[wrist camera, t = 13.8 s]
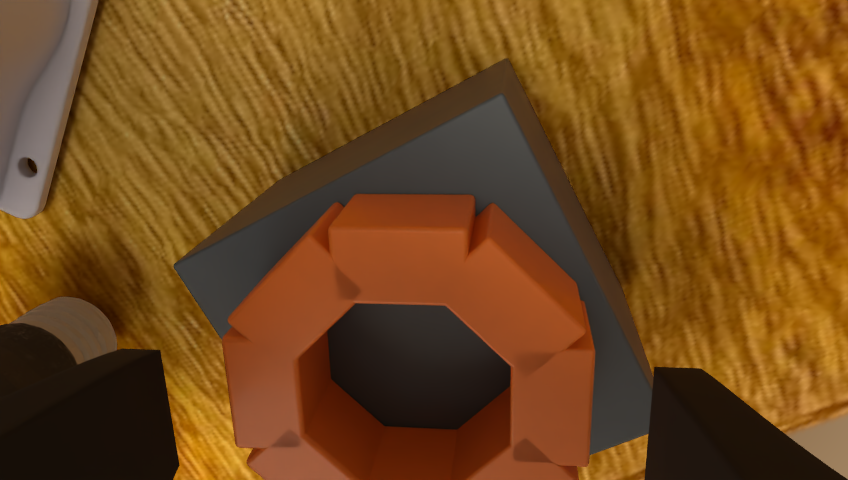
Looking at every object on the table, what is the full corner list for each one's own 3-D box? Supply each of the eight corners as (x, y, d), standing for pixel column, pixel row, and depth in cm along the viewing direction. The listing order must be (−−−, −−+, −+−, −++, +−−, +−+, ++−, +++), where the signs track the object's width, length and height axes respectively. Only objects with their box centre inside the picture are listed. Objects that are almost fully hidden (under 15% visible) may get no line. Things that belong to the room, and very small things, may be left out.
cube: (401, 384, 20) (355, 541, 14) (278, 180, 18) (171, 265, 13) (623, 290, 18) (671, 427, 12) (507, 57, 17) (502, 91, 11)
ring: (424, 530, 14) (411, 606, 12) (203, 340, 13) (156, 392, 11) (652, 355, 12) (674, 414, 10) (411, 121, 11) (392, 144, 10)
